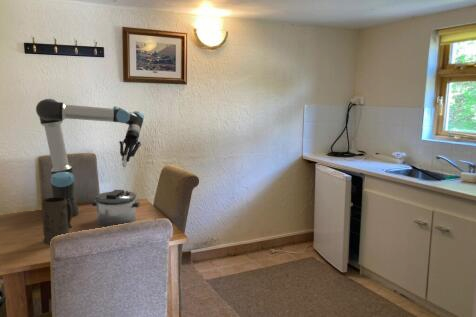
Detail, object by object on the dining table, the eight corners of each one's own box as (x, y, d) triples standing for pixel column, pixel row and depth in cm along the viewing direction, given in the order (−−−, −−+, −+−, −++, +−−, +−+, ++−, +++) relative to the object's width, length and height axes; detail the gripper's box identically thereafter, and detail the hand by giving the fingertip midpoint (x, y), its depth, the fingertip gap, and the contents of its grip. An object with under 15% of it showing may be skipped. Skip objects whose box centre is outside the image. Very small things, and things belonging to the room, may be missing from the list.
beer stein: (58, 245, 173) (58, 201, 171) (37, 243, 175) (36, 200, 173) (79, 236, 188) (78, 195, 186) (59, 234, 190) (59, 194, 188)
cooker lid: (88, 203, 199) (87, 196, 198) (104, 193, 219) (104, 187, 219) (128, 204, 197) (128, 197, 197) (141, 194, 218) (141, 188, 217)
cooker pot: (85, 225, 201) (84, 202, 199) (102, 213, 222) (102, 192, 220) (133, 226, 200) (132, 204, 198) (145, 214, 221) (145, 194, 219)
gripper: (145, 137, 235) (136, 169, 222) (124, 137, 236) (114, 169, 222) (142, 129, 229) (133, 162, 215) (120, 129, 230) (110, 161, 216)
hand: (123, 165), depth 219 cm, fingers closed
